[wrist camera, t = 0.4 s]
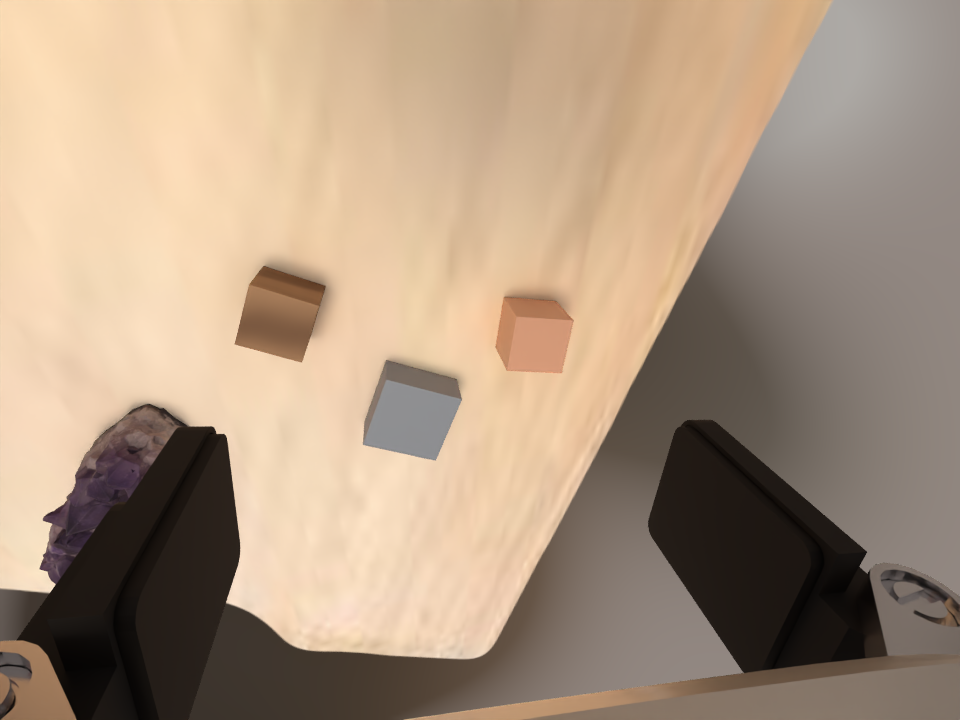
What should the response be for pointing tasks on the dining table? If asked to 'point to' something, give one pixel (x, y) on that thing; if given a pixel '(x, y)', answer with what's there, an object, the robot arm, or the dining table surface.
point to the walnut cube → (279, 314)
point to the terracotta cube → (533, 335)
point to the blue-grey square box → (411, 411)
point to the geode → (105, 481)
